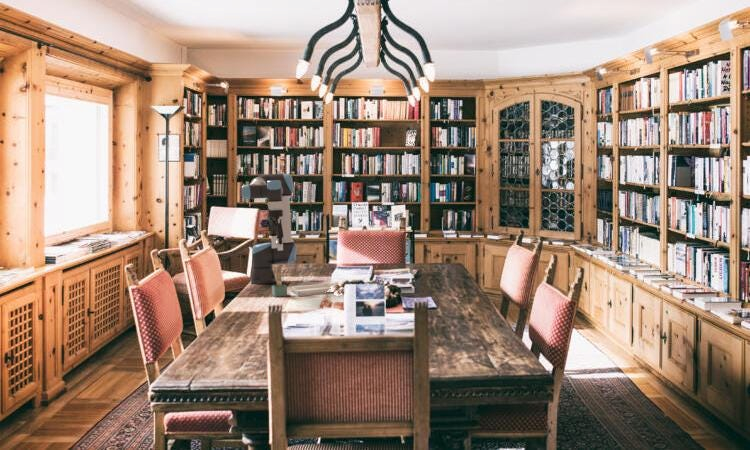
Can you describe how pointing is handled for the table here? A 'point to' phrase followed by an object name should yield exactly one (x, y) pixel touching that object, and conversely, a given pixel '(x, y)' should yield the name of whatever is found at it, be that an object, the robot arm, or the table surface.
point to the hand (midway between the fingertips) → (277, 249)
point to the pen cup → (279, 290)
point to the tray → (311, 289)
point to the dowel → (278, 276)
